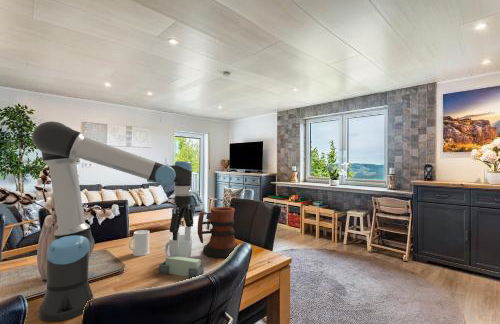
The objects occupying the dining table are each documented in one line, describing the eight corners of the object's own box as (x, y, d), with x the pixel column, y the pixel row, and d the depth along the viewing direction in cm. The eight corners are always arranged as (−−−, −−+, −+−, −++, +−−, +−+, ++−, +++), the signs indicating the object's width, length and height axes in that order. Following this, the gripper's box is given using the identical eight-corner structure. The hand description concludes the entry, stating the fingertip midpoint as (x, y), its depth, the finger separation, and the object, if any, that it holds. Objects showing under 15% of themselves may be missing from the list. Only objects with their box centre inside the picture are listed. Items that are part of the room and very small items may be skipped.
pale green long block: (196, 278, 114) (196, 262, 114) (165, 273, 119) (165, 257, 119) (200, 275, 118) (200, 259, 118) (169, 270, 123) (170, 255, 123)
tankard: (245, 256, 142) (246, 211, 142) (199, 261, 134) (200, 213, 134) (235, 244, 163) (236, 205, 163) (195, 247, 155) (196, 206, 155)
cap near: (197, 279, 113) (197, 270, 113) (188, 278, 114) (188, 268, 114) (203, 273, 119) (203, 264, 119) (195, 272, 120) (195, 263, 120)
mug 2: (157, 264, 129) (158, 237, 129) (172, 257, 139) (173, 232, 139) (182, 269, 123) (182, 242, 123) (195, 261, 133) (196, 236, 133)
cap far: (167, 274, 117) (167, 266, 117) (158, 273, 118) (159, 264, 118) (174, 269, 123) (174, 261, 123) (166, 268, 124) (166, 260, 124)
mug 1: (132, 259, 135) (132, 236, 135) (123, 255, 140) (124, 233, 141) (152, 253, 145) (153, 231, 145) (144, 249, 150) (144, 229, 150)
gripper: (177, 198, 107) (176, 252, 107) (201, 192, 129) (200, 237, 128) (161, 197, 109) (160, 250, 109) (187, 192, 131) (186, 236, 130)
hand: (181, 243), depth 119 cm, fingers open, 10 cm apart
